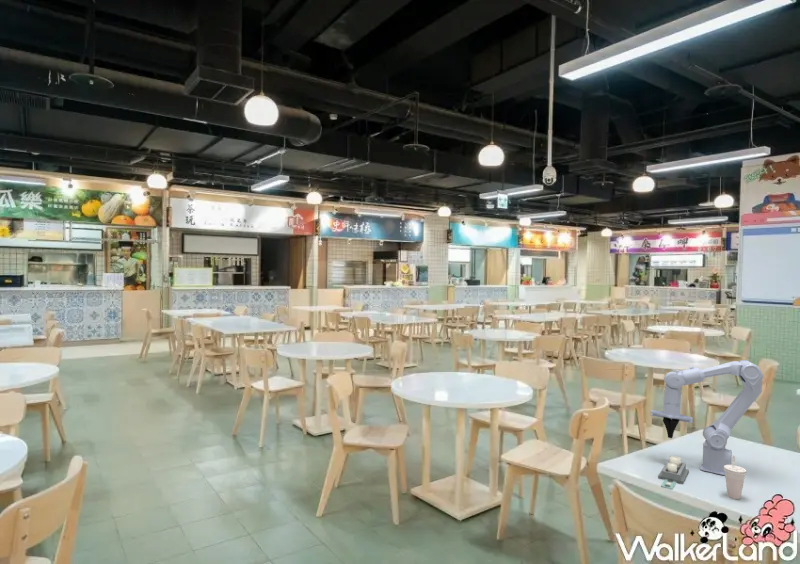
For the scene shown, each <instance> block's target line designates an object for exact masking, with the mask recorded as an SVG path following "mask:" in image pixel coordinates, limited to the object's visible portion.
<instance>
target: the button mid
mask: <svg viewBox="0 0 800 564" xmlns="http://www.w3.org/2000/svg"><path fill="white" fill-rule="evenodd" d="M674 456H675V455H674ZM674 456H673V455H672V456H669V460H670V463H674V464H676V465H677V470H679V458H678V457H679V456H676V457H674Z"/></svg>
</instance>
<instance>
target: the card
mask: <svg viewBox="0 0 800 564" xmlns="http://www.w3.org/2000/svg"><path fill="white" fill-rule="evenodd" d="M676 484H677V483H676V482H675V481H672V480H667V479H665V480H663V481H662V483H661V485H660V487H661V488H665V489H669V490H674V488H675V485H676Z"/></svg>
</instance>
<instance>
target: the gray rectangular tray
mask: <svg viewBox="0 0 800 564" xmlns="http://www.w3.org/2000/svg"><path fill="white" fill-rule="evenodd" d="M668 463H670V459H668V460H667V462H666V463H665V464H664V466H663V468H662V469H661V471H660V472H659V474H658V476H657V477H658V478H657V479H659V480H663V481H664V480H665V479H667V480H672V481H675V482H676V484H680V485H684V484H685V482H686V480H687V477H688V476H689V473H690V469H689V468H688V469H687V464H686V463H684V462H681V466H679V470H677V474H676V473H671V472H667V466H668Z"/></svg>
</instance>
